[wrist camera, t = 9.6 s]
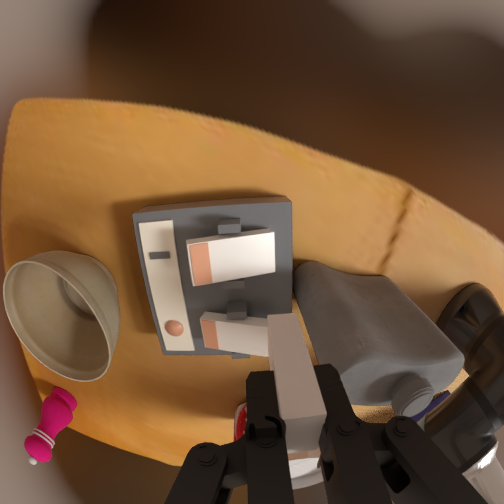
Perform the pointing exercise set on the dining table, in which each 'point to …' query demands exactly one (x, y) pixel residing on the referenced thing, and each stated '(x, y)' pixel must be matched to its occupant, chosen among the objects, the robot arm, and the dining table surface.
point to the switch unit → (215, 294)
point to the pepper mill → (50, 425)
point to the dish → (305, 468)
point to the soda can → (240, 421)
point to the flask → (375, 338)
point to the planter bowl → (64, 312)
